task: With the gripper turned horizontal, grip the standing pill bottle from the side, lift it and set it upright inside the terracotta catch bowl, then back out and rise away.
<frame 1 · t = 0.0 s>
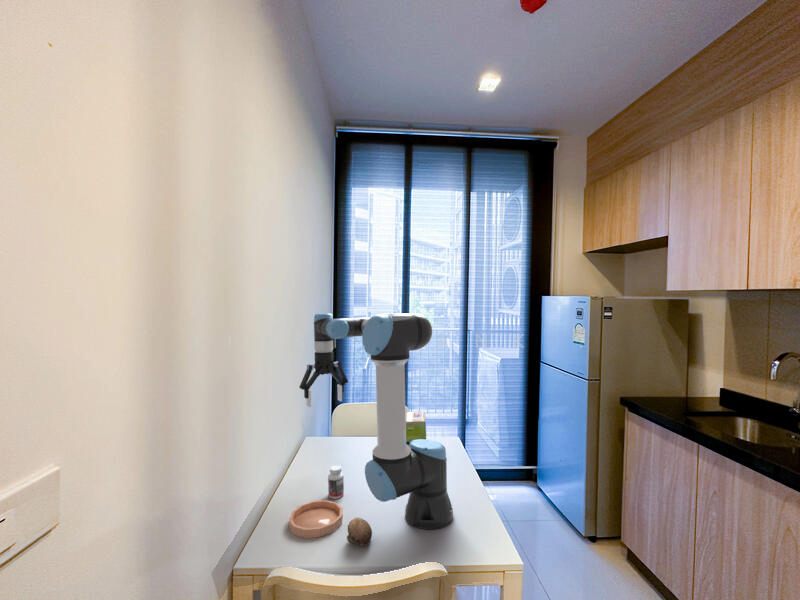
hand: (324, 403, 150), 28 cm above the table, fingers open, 13 cm apart
mushroom: (360, 542, 105), on the table
tea box: (415, 447, 175), on the table
pill bottle: (336, 495, 131), on the table
catch bowl: (316, 521, 115), on the table
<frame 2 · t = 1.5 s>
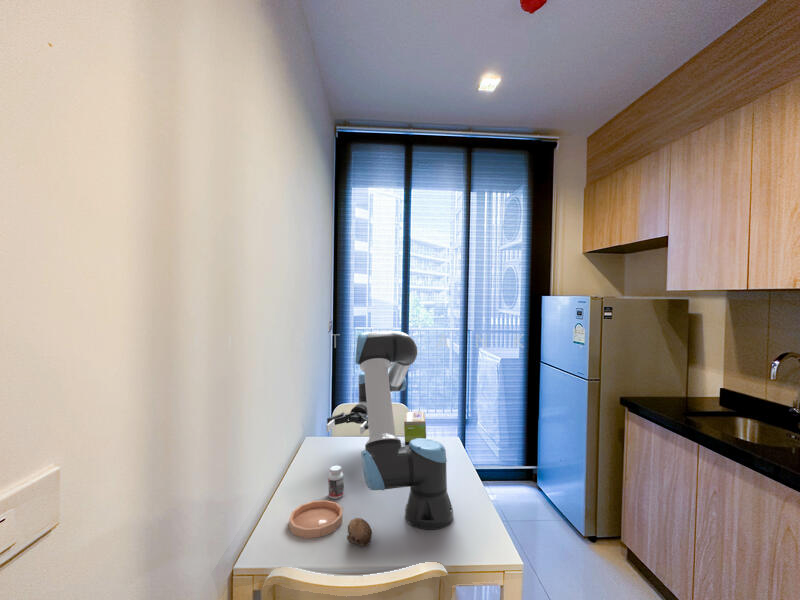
hand: (344, 429, 141), 20 cm above the table, fingers open, 13 cm apart
nothing on the table moved.
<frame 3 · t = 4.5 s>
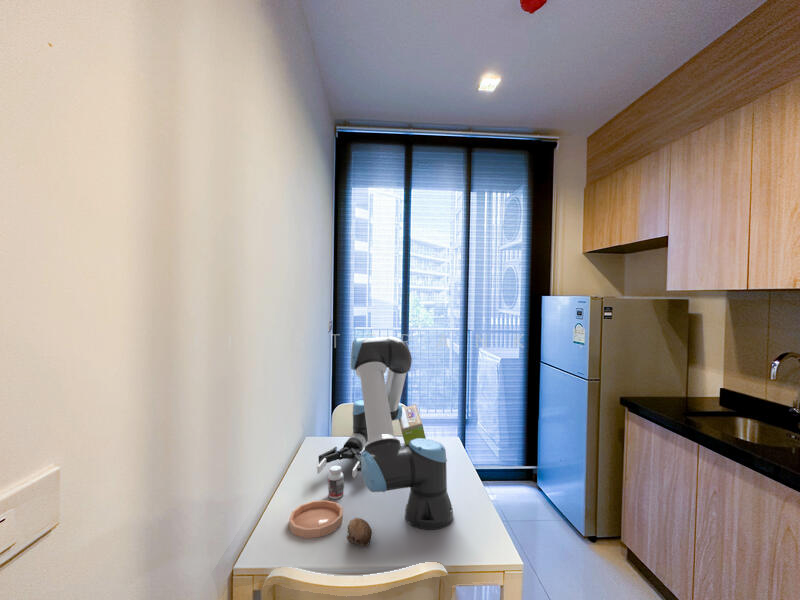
hand: (335, 472, 134), 7 cm above the table, fingers open, 13 cm apart
tea box: (415, 441, 174), point 3 cm above the table, touching arm
everything else where it was.
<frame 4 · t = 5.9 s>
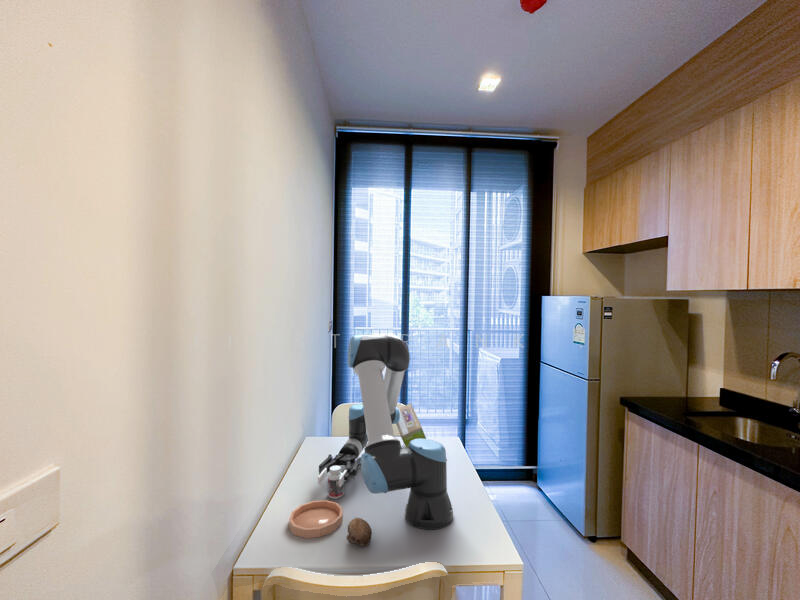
hand: (329, 481, 127), 7 cm above the table, fingers open, 7 cm apart
tea box: (414, 437, 173), point 5 cm above the table, touching arm
pill bottle: (336, 495, 131), on the table, touching gripper
everything else where it was.
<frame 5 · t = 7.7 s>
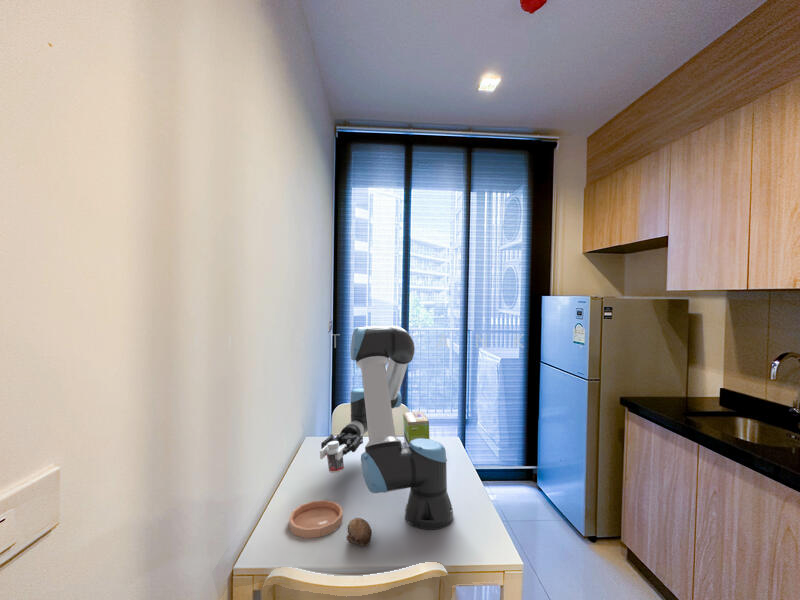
hand: (329, 455, 127), 16 cm above the table, fingers closed on pill bottle, 6 cm apart
tea box: (416, 447, 175), on the table
pill bottle: (336, 471, 130), point 9 cm above the table, touching gripper
everything else where it was.
when the fingers open (8 cm above the table, at t = 12.1 s): pill bottle stays where it is, resting on catch bowl.
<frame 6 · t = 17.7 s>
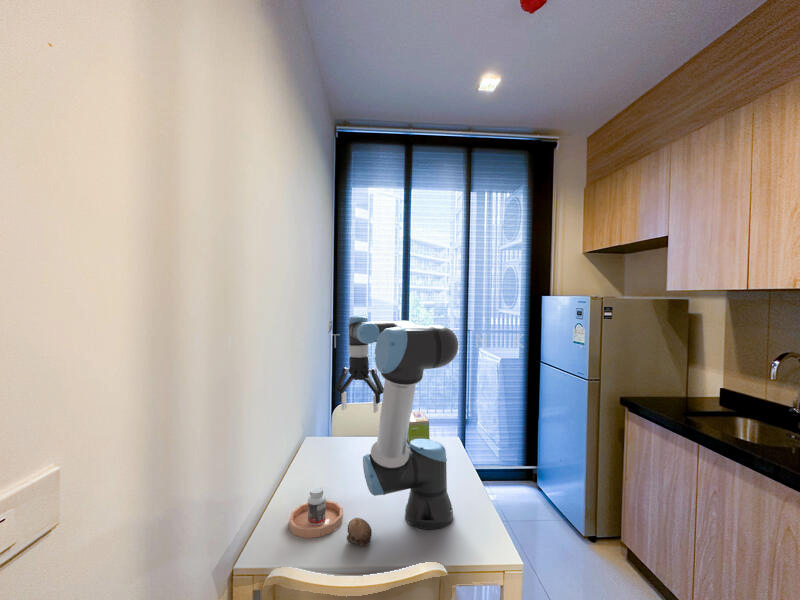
hand: (359, 410, 143), 27 cm above the table, fingers open, 13 cm apart
pill bottle: (316, 522, 114), resting on catch bowl
everything else where it was.
at the end: pill bottle inside the target area on the catch bowl (1.0 cm from its centre), point 0.4 cm above the catch bowl's base; pill bottle tilted 1°; the gripper is holding nothing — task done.
